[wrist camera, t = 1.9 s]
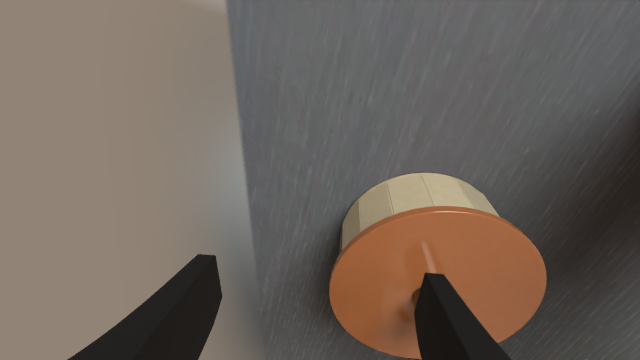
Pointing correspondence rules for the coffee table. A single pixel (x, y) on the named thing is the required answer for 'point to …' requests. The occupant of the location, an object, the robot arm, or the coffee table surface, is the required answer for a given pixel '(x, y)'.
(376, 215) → the pot
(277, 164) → the coffee table surface
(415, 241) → the lid
